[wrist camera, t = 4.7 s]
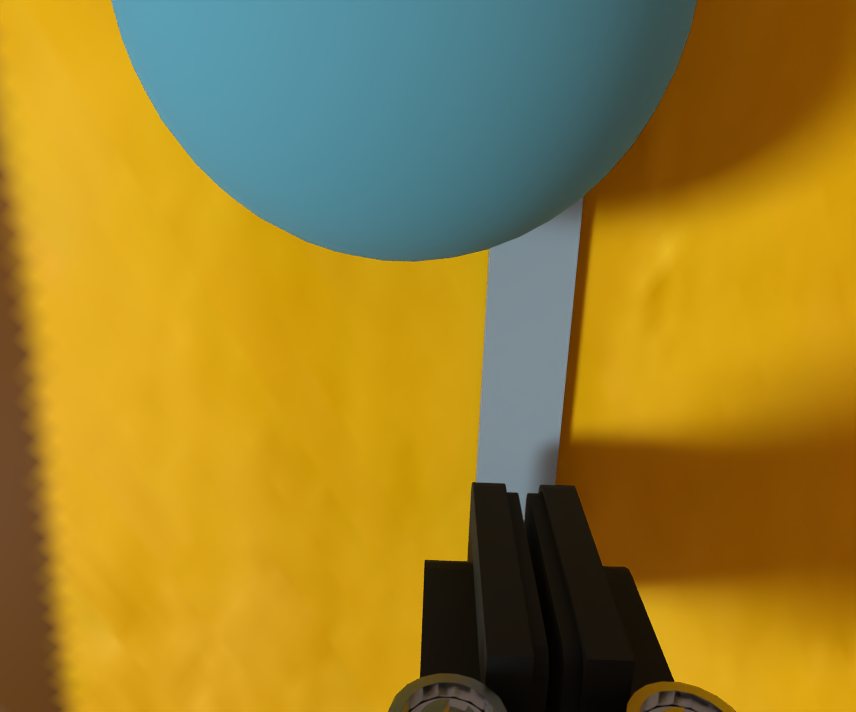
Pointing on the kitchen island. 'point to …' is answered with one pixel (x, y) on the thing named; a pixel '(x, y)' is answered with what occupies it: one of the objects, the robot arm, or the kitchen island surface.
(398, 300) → the kitchen island surface
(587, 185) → the ball
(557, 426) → the strip
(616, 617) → the robot arm
